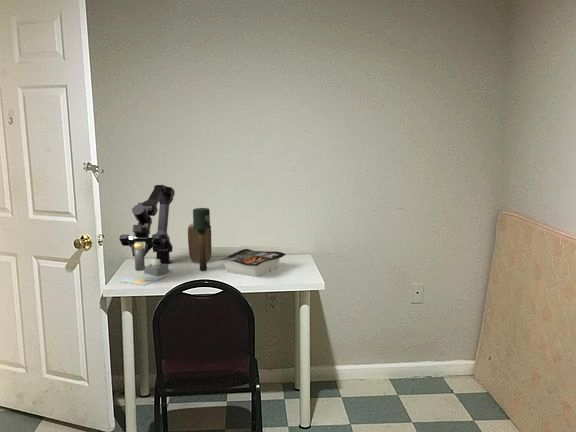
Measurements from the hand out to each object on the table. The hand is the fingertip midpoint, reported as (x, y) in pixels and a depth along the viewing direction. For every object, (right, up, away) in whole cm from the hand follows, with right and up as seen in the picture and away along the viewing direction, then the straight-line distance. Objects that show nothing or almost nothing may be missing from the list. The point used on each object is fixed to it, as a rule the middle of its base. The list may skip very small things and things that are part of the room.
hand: (138, 256), depth 267 cm
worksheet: (0, -11, +7) cm, 13 cm away
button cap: (+4, -8, +19) cm, 21 cm away
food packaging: (+50, -9, +22) cm, 55 cm away
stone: (+22, -6, +39) cm, 45 cm away
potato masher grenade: (+26, -9, +23) cm, 35 cm away
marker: (0, -6, +3) cm, 7 cm away
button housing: (+4, -9, +19) cm, 22 cm away
